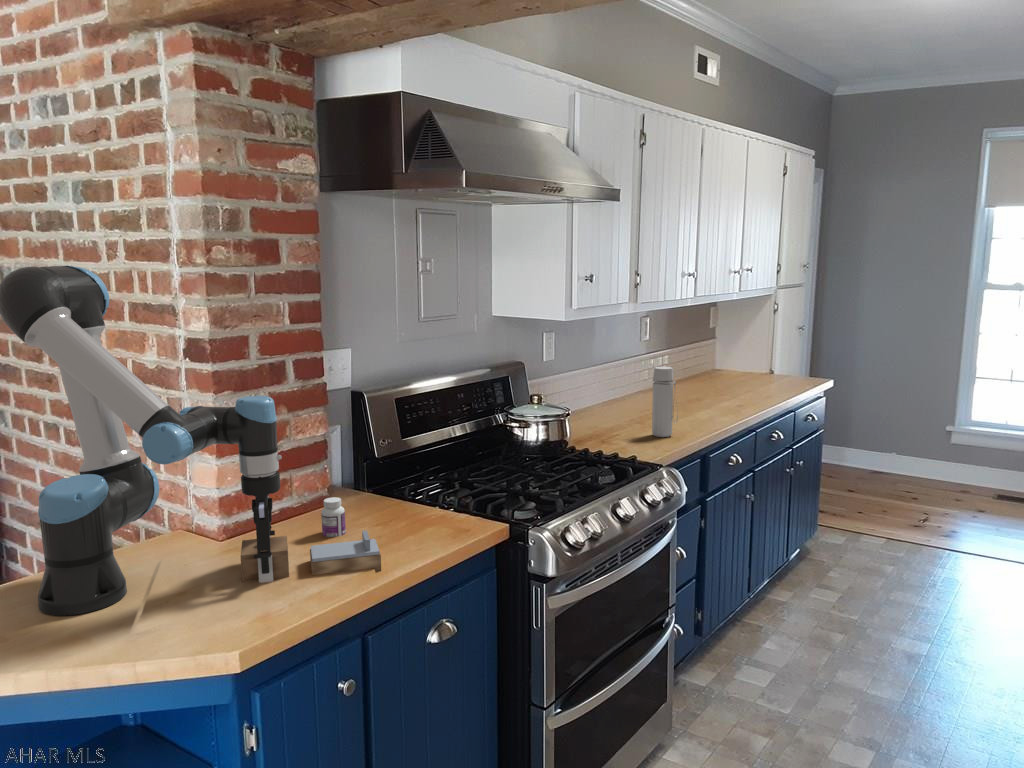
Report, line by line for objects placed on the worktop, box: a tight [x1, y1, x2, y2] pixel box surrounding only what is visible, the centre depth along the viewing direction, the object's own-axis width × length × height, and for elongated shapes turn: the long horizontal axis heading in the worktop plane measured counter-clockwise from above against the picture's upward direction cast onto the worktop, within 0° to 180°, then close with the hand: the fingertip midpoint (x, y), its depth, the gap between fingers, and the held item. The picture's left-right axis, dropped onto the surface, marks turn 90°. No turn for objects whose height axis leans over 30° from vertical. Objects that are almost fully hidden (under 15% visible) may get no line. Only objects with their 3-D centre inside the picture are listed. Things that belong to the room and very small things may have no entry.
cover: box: [240, 535, 290, 583], centre depth 163 cm, size 9×9×8 cm
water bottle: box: [651, 366, 679, 438], centre depth 287 cm, size 9×8×25 cm
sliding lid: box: [310, 530, 381, 562], centre depth 166 cm, size 14×8×3 cm, turn 106°
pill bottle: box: [320, 496, 347, 538], centre depth 185 cm, size 5×5×10 cm
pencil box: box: [309, 548, 382, 576], centre depth 166 cm, size 14×8×4 cm, turn 106°
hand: (267, 576), depth 163 cm, fingers open, 10 cm apart
